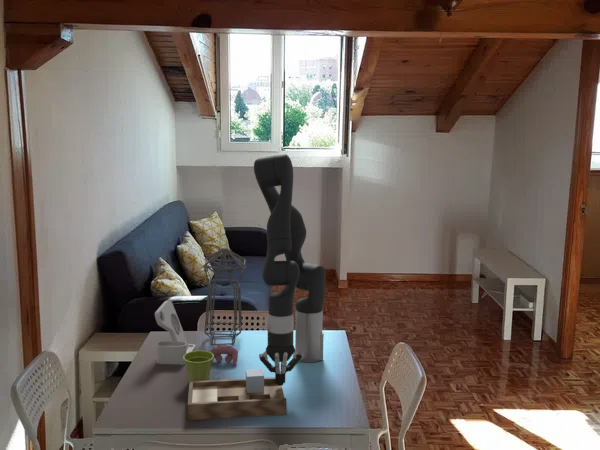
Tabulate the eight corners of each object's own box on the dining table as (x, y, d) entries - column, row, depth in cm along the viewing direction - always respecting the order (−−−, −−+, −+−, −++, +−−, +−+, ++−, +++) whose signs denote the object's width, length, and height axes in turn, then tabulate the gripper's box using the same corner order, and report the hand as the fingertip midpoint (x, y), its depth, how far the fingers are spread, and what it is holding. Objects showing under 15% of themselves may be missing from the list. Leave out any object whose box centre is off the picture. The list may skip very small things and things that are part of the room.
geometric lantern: (203, 333, 233) (204, 243, 227) (244, 334, 234) (246, 244, 229) (200, 348, 217) (201, 252, 212) (244, 348, 219) (247, 253, 213)
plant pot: (219, 378, 193) (219, 352, 191) (205, 391, 184) (204, 363, 182) (193, 374, 196) (192, 348, 194) (178, 386, 187) (177, 359, 185)
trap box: (280, 391, 184) (280, 377, 184) (286, 414, 170) (286, 399, 169) (189, 395, 181) (189, 381, 180) (187, 420, 166) (187, 404, 165)
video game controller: (238, 367, 206) (239, 346, 208) (235, 366, 201) (237, 344, 203) (209, 365, 207) (211, 344, 209) (206, 364, 202) (208, 343, 204)
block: (262, 384, 182) (262, 368, 181) (264, 392, 177) (264, 375, 176) (245, 385, 181) (245, 369, 180) (246, 392, 176) (246, 376, 175)
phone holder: (185, 365, 203) (184, 313, 200) (155, 364, 203) (153, 312, 200) (196, 346, 220) (195, 298, 217) (168, 345, 221) (167, 297, 217)
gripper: (301, 323, 181) (300, 378, 184) (256, 324, 179) (256, 380, 182) (305, 331, 174) (304, 388, 177) (258, 333, 172) (258, 391, 175)
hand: (280, 384), depth 180 cm, fingers closed
